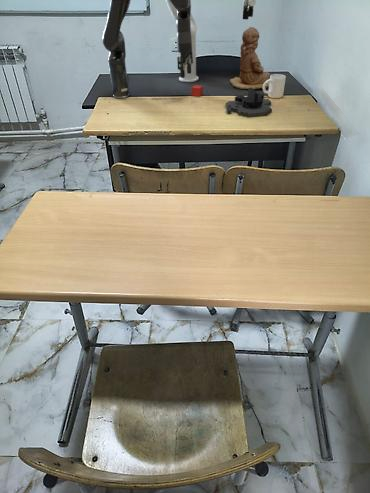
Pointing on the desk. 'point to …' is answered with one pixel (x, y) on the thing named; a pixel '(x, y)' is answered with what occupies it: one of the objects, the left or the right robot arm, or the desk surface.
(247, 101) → the abstract sculpture
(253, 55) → the sculpture
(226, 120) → the desk surface
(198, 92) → the brick
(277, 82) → the mug
